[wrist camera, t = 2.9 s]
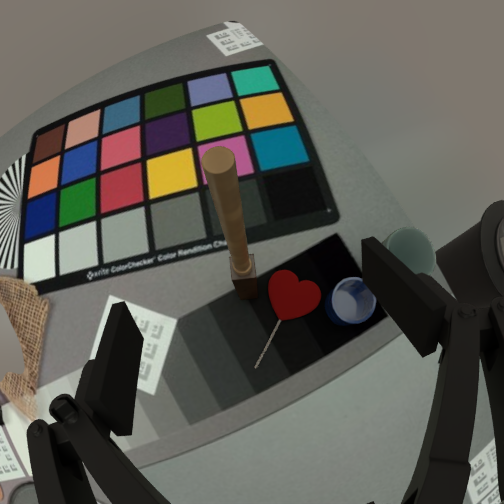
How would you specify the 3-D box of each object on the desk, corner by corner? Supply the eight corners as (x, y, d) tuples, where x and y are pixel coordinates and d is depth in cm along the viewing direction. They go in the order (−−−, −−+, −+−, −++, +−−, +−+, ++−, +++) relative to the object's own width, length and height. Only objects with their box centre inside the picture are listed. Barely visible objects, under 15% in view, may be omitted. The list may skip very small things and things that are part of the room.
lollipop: (280, 379, 43) (325, 289, 46) (280, 380, 42) (326, 287, 45) (230, 355, 44) (277, 265, 48) (229, 355, 43) (277, 264, 47)
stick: (251, 256, 34) (237, 140, 15) (253, 274, 33) (241, 174, 14) (232, 258, 34) (196, 145, 15) (234, 277, 33) (197, 179, 14)
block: (256, 281, 47) (253, 253, 34) (257, 298, 46) (256, 277, 33) (238, 283, 47) (229, 256, 34) (240, 300, 46) (231, 280, 33)
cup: (374, 303, 46) (400, 291, 36) (356, 257, 48) (377, 235, 38) (413, 286, 46) (444, 270, 36) (395, 242, 48) (421, 219, 39)
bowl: (361, 281, 47) (371, 273, 42) (368, 322, 45) (379, 319, 40) (321, 287, 47) (328, 280, 42) (328, 329, 45) (335, 327, 40)
